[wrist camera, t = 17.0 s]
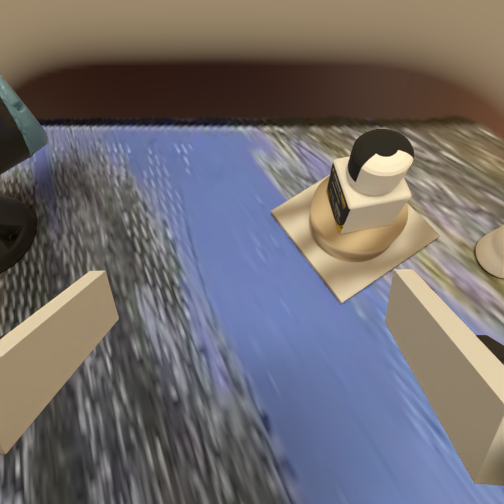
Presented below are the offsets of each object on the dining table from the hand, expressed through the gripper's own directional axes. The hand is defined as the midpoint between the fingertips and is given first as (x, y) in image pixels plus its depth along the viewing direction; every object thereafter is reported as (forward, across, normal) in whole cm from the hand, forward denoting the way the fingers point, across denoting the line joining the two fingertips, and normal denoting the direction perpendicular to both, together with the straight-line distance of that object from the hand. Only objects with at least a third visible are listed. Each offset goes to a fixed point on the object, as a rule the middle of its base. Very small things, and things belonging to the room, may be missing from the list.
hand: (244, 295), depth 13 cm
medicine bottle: (+29, +12, -4) cm, 32 cm away
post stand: (+33, +13, -8) cm, 36 cm away
